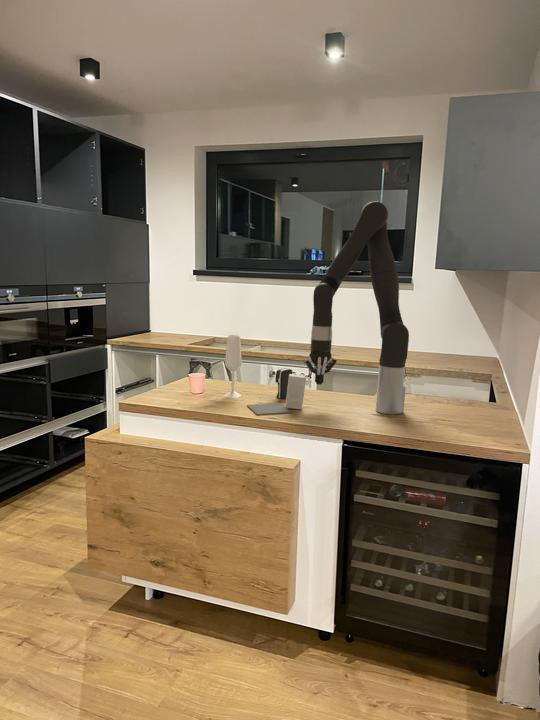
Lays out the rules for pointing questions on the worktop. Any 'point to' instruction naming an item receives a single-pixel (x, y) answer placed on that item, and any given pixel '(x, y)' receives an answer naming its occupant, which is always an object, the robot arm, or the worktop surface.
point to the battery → (282, 381)
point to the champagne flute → (233, 360)
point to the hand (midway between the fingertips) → (318, 384)
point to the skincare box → (295, 391)
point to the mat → (269, 409)
